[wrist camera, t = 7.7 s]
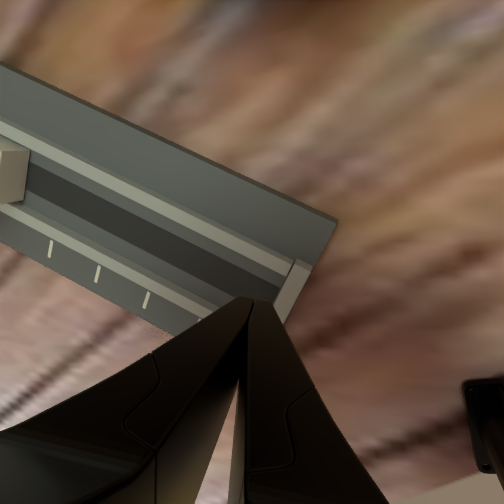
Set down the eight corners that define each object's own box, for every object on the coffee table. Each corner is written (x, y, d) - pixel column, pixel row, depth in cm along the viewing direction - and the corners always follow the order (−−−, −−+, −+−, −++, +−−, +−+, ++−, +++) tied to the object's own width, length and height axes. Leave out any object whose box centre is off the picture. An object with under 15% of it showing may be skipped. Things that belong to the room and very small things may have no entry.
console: (337, 219, 20) (336, 228, 18) (258, 368, 24) (250, 389, 22) (-23, 50, 23) (-59, 41, 21) (-33, 211, 27) (-64, 217, 25)
